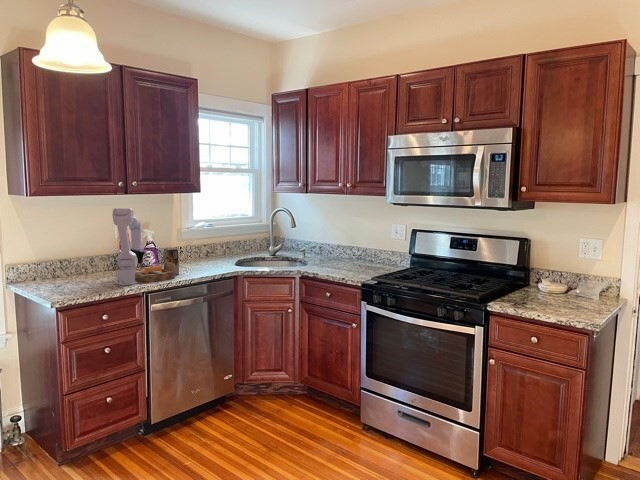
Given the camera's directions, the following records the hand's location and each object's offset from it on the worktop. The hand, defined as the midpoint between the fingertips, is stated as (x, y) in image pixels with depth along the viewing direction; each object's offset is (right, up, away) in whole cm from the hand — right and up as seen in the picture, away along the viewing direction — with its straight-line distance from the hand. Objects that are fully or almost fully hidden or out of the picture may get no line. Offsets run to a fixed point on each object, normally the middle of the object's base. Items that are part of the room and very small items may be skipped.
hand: (136, 262), depth 289 cm
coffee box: (+17, -8, +13) cm, 23 cm away
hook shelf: (+11, -10, -3) cm, 15 cm away
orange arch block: (+11, -8, -3) cm, 14 cm away
